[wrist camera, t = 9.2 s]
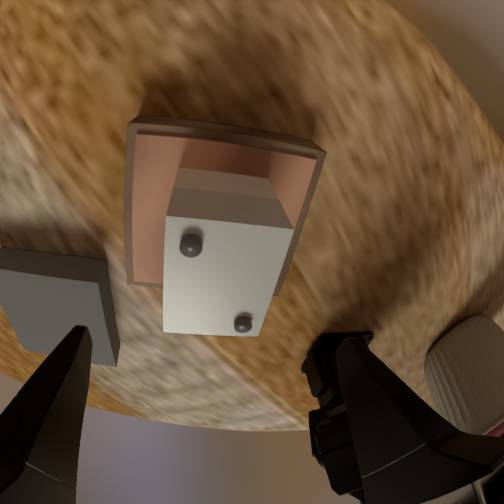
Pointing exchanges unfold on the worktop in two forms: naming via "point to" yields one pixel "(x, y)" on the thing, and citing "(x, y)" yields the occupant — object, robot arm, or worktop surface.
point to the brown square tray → (213, 159)
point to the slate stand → (58, 300)
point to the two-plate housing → (221, 252)
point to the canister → (469, 376)
